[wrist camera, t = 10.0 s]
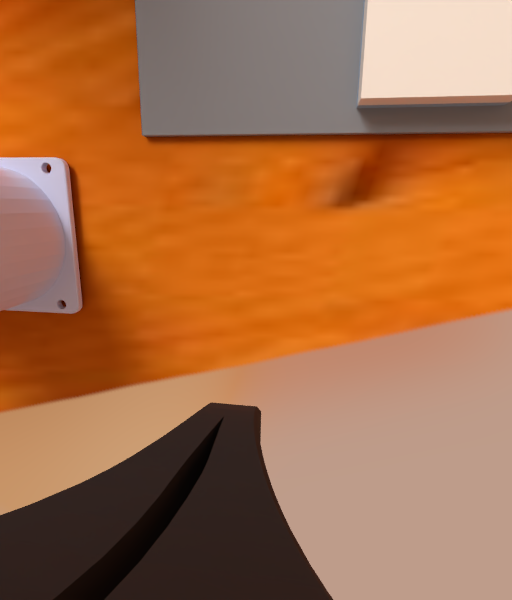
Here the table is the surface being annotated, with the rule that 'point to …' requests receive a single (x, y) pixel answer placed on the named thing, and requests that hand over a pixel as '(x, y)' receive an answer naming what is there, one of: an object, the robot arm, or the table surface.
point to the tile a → (435, 53)
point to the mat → (271, 73)
